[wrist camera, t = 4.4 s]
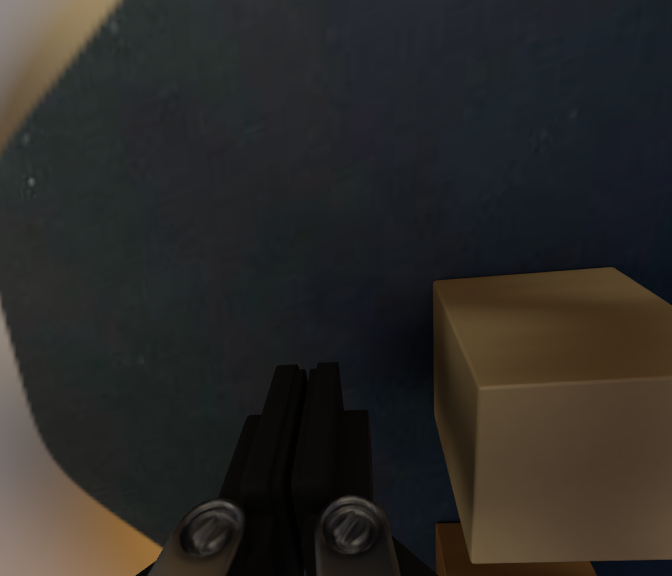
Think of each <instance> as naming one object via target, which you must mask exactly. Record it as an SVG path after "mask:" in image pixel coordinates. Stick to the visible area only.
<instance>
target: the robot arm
mask: <svg viewBox="0 0 672 576" xmlns="http://www.w3.org/2000/svg"><path fill="white" fill-rule="evenodd" d="M304 568H305V569H306V574H307V576H438V575H437V574H436V573H435V572H434V571H432V570H431V569H430V568H429V567H428V566H427V565H425V564H424V563H423V562H422V561H421V560H420V559H418V558H417V557H416V556H415V555H414V554H413V553H411V552H410V551H409V550H408V549H407V548H406V547H404V546H403V545H402V544H401V543H400V542H399V541H397V540H396V539H395V538H394V537H393V536H392V535H391V532H390V528H389V524H388V519H387V517H386V515H385V512H384V510H383V509H382V508H381V507H380V505H379V504H378V503H377V502H376V501H374V500H373V477H372V454H371V438H370V426H369V415H368V410H353V411H344V407H343V399H342V390H341V381H340V373H339V365H338V362H332V363H318V365H317V369H310V373H309V379H308V382H307V375H306V371H305V369H302V370H299V367H298V365H297V364H296V365H279V366H277V367H276V370H275V373H274V376H273V379H272V382H271V386H270V389H269V392H268V395H267V399H266V402H265V405H264V408H263V412H262V415H249V416H248V417H247V419H246V421H245V424H244V426H243V429H242V432H241V435H240V438H239V440H238V443H237V446H236V449H235V452H234V455H233V457H232V460H231V463H230V466H229V469H228V472H227V474H226V477H225V480H224V483H223V486H222V489H221V491H220V494H219V497H218V498H214V499H210V500H207V501H204V502H202V503H200V504H198V505H196V506H195V507H193V508H192V509H191V510H190V511H188V512H187V513H186V514H185V515H184V516H183V518H182V519H181V520H180V522H179V523H178V524H177V526H176V527H175V529H174V531H173V533H172V534H171V536H170V538H169V539H168V541H167V543H166V545H165V546H164V548H163V550H162V551H161V553H160V555H159V557H158V558H157V560H156V561H155V562H154V563H152V564H151V565H150V566H148V567H147V568H145V569H144V570H143V571H141V572H140V573H139V574H137V575H136V576H304Z"/></svg>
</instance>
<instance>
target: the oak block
mask: <svg viewBox="0 0 672 576" xmlns="http://www.w3.org/2000/svg"><path fill="white" fill-rule="evenodd" d="M436 574H437V575H438V576H597V575H596V573H595V571H594V569H593V567H592V565H591V563H590V561H575V562H530V563H484V564H474V563H472V562H471V560H470V557H469V553H468V549H467V545H466V541H465V537H464V533H463V529H462V525H461V523H437V524H436Z"/></svg>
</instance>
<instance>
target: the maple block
mask: <svg viewBox="0 0 672 576" xmlns="http://www.w3.org/2000/svg"><path fill="white" fill-rule="evenodd" d="M433 332H434V416H435V420H436V424H437V428H438V432H439V436H440V440H441V444H442V448H443V452H444V456H445V460H446V464H447V468H448V472H449V476H450V480H451V484H452V488H453V492H454V496H455V501H456V505H457V509H458V513H459V517H460V521H461V525H462V529H463V533H464V537H465V541H466V545H467V549H468V553H469V557H470V560H471V562H472V563H474V564H484V563H530V562H575V561H621V560H667V559H672V305H670V304H669V303H667V302H666V301H664V300H663V299H661V298H660V297H658V296H657V295H655V294H654V293H652V292H650V291H649V290H647V289H646V288H644V287H643V286H641V285H640V284H638V283H637V282H635V281H634V280H632V279H631V278H629V277H627V276H626V275H624V274H623V273H621V272H620V271H618V270H617V269H615V268H613V267H606V268H593V269H580V270H567V271H554V272H541V273H528V274H515V275H502V276H489V277H476V278H463V279H450V280H436V281H434V282H433Z"/></svg>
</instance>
